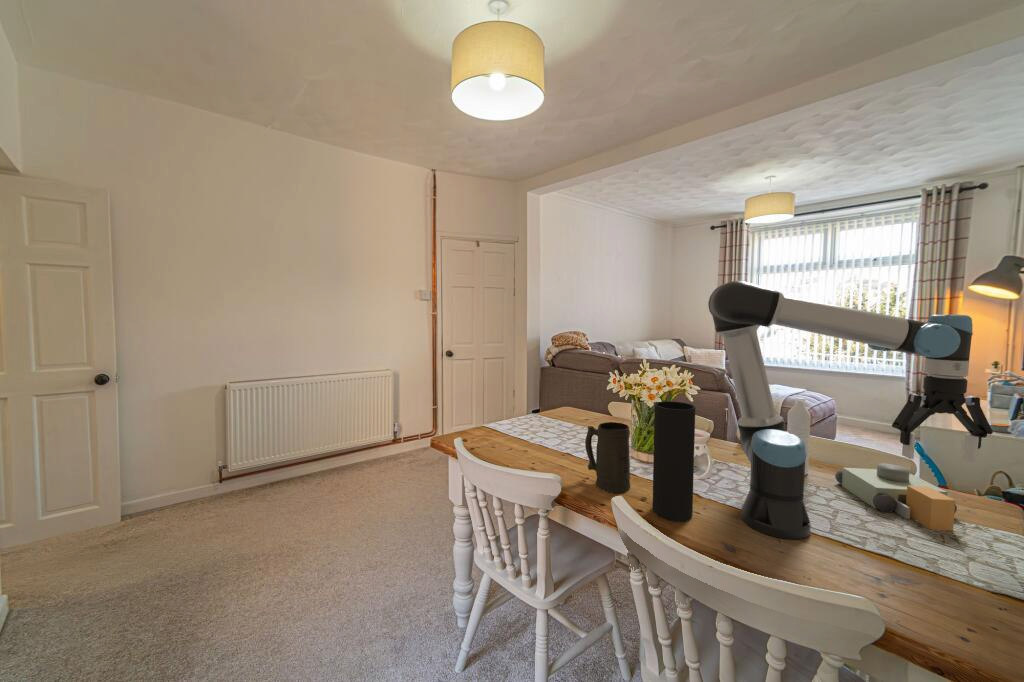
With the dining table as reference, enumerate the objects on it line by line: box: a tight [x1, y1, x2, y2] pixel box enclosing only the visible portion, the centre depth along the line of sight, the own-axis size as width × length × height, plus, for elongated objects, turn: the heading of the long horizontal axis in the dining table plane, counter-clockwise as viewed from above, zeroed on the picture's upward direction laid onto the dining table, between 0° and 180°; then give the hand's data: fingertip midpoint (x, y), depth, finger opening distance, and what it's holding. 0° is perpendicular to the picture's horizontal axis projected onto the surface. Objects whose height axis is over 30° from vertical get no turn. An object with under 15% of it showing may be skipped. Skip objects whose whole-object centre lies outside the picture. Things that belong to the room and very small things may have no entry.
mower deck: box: [834, 462, 958, 520], centre depth 119 cm, size 19×22×9 cm
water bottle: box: [786, 396, 812, 476], centre depth 141 cm, size 9×6×25 cm
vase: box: [651, 400, 696, 523], centre depth 112 cm, size 10×10×30 cm
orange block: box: [906, 486, 956, 531], centre depth 107 cm, size 5×8×8 cm, turn 171°
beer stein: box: [584, 421, 631, 494], centre depth 131 cm, size 15×11×20 cm
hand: (938, 458), depth 104 cm, fingers open, 13 cm apart
